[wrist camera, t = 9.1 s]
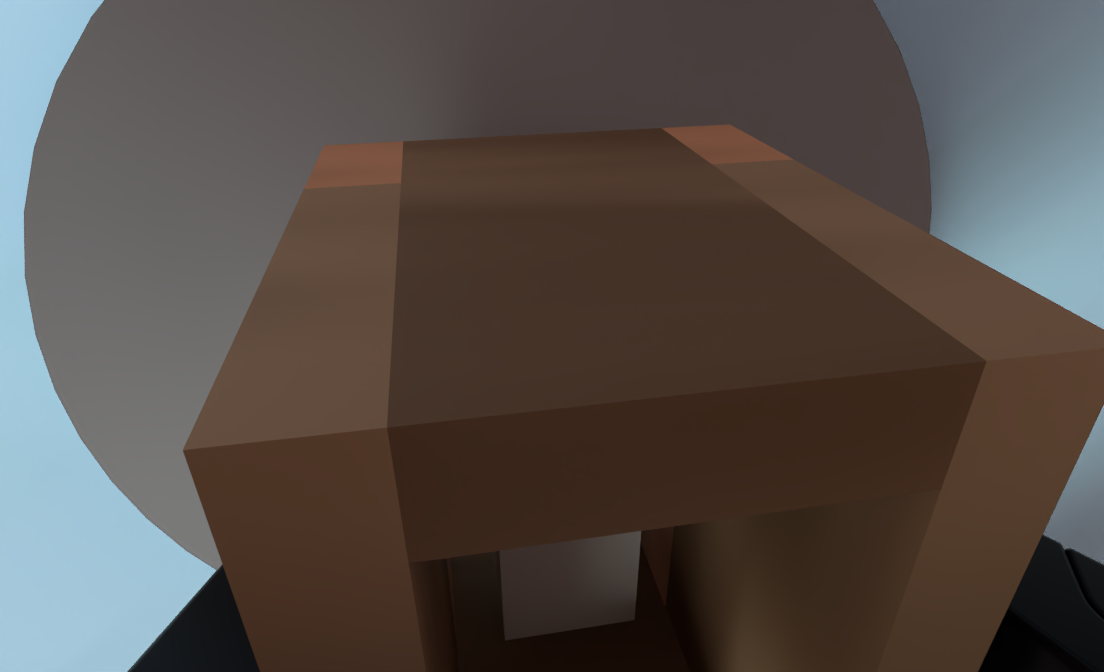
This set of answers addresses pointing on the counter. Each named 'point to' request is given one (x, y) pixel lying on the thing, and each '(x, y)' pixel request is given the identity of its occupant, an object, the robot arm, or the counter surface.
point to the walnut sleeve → (632, 413)
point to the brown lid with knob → (371, 117)
